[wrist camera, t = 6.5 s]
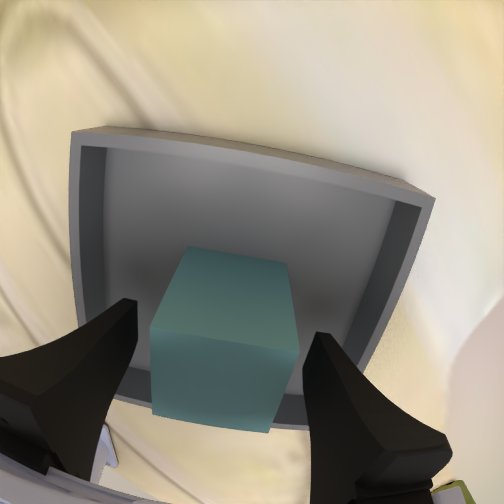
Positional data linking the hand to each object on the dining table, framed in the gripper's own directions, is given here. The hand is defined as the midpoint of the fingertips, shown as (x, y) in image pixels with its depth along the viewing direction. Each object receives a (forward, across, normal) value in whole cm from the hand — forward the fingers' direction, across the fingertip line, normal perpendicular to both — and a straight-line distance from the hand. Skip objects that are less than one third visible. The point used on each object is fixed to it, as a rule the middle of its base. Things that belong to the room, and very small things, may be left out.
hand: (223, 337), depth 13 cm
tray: (+4, 0, 0) cm, 4 cm away
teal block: (+3, 0, 0) cm, 3 cm away
